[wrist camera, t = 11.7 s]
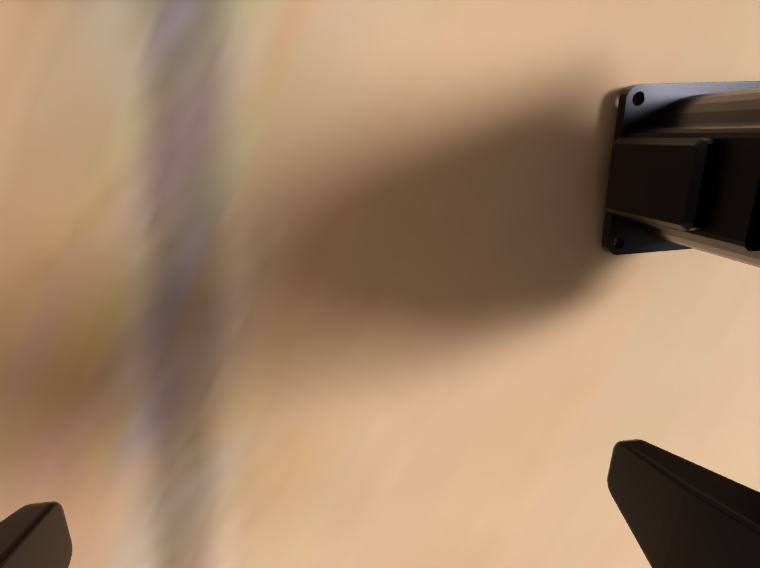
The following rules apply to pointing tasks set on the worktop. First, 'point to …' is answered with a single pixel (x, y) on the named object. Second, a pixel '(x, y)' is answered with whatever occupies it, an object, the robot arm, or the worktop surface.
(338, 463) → the worktop surface
